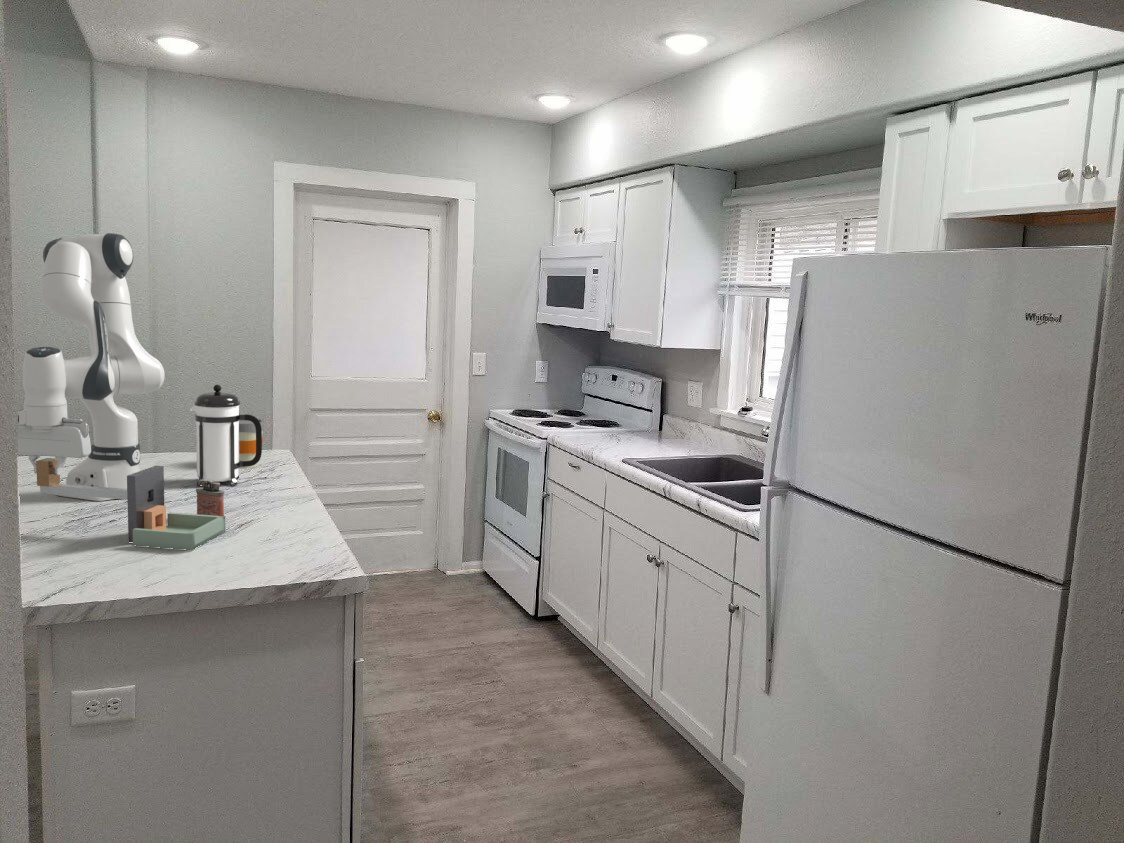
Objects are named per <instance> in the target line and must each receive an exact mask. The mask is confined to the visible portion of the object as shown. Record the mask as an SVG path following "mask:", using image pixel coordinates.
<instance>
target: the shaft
mask: <svg viewBox="0 0 1124 843" xmlns="http://www.w3.org/2000/svg"><path fill="white" fill-rule="evenodd" d="M57 462H58V461H55V457H46V458H43V459H42V458H41V459H39V460H38V461H36V470H37V473H36V486H38V487H39V492H40V494H47V495H48V494H50V495H57V494H60V495H74V496H87V497H101V498H114V499H113V500H115V499H116V500H118V499H119V500H127V489H120V488H107V487H93V486H79V485H66V483H65V484H64V483H62V484H61V474H60V475H53V474H52V467H55V466H56V464H57ZM147 499H149V491H147Z"/></svg>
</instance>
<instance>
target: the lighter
mask: <svg viewBox="0 0 1124 843" xmlns="http://www.w3.org/2000/svg"><path fill="white" fill-rule="evenodd" d="M198 480H199V479H198ZM199 485H203V486H202V487H198V488H196V489H195V493H196V514H200V515H213V516H225V510H224V509H225V508H224V503H225V501H224V500H225V499H224V496H225V491H224V490H222V489H220V487H221V483H220V482H215V481H214V480H211V481H208V480H199Z"/></svg>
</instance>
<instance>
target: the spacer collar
mask: <svg viewBox="0 0 1124 843" xmlns="http://www.w3.org/2000/svg"><path fill="white" fill-rule="evenodd" d="M166 526H167V506H166V505H164V506H162V505H157V506H155V507H153V508H150V509H148V510H146V511H144V529H154V530H166Z"/></svg>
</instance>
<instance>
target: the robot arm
mask: <svg viewBox="0 0 1124 843" xmlns="http://www.w3.org/2000/svg"><path fill="white" fill-rule="evenodd" d="M42 258H43V259H42V260H43V263H44V265H43V268H42V274H41V280H40V299H41V301H42V303H43V305H44V306H45V307H46V309H48V310H49V311H50V312H51V313H53V314H54V315H56V316H58V317H60V318H62V319H64V320H68V321H70V322H73V323H76V324H78V325H80V326H82V327H84V328H86V329H87V332H88V340H89V341H88V342H89V348H90V349H89V351H90V355H87V356H86V355H85V356H79V357H74V358H70V359H65V358H64V356H63V352H62V350H61V349H60V348H57V347H52V346H38V347H32V348H30V349H28V350H26V351H25V352H24V357H23V365H22V388H23V390H24V394H25V396H24V401H23V409H20V410H18V454H17V455H28V460H29V462H30V463H31V464H32V466H33V472H34V474H37V470H36V461H38V460H40V458H41V456H42V457H43V456H44V457H45V456H46V457H54V458H55V461H58V462H57V464H56V466H55V467H52V474H53V475H60V476H61V475H63V467H64V465H65V463H66V461H67V460H68V458H71V459H83V458H86V457H87V458H86V459H84V460H82V461H81V462H80V463H79V464H77V465H76V466H75V467H72V469H70V471H69V472H68V473H67V476H66V480H65V485H79V486H93V487H107V488H120V489H127V475H130V474H133V473H136V472H139V471H141V466H140V462H141V444H140V443H139V426H138V425H139V424H138V423H139V422H138V420H139V419H138V418H137V416H136V414H135V413H134V412H132V411H131V410H129V409H127V408H125V407H124V406H123V407H122V406H120V405H117V404H116V403H115V400H114V397H115V396H129V395H131V396H132V395H133V396H134V395H135V396H136V395H144V394H149V393H153V392H158V390H160V389H161V387H163V384H164V382H165V376H166V374H165V373H166V372H165V369H164V366H163V364H162V363H161V362H160V360H158V359H157V358H156V357H154V356H153V355H151V354H150V353H149V352H147V350H146V349H145V348H144V347H143V346H142V344H141V343H140V341H139V339H138V337H137V336H136V335H137V334H136V333H135V332H136V331H135V327H134V321H133V314H132V313H133V312H132V304H131V295H130V290H129V286H128V282H127V279H126V276H127V273H128V272H129V270H130V269H131V267H132V265H133V263H134V262H133V261H134V252H133V247H132V245H131V243H130V241H129V240H128V239H127V238H126V237H125V236H124V235H122V234H119V233H114V232H113V233H112V232H111V233H110V232H109V233H108V232H107V233H105V234H104V233H90V234H89V233H88V234H87V233H86V234H82V235H76V236H69V237H65V238H63V237H60V238H55V239H53V240H51V241H49V242H47V244H46V245H45V247H44V248H43V251H42ZM110 349H111V350H112V352H113V355H111V354H110V353H111V352H110ZM68 399H71V400H72V399H73V400H74V399H76V400H80V402H81V403H82V404H83V405H84V406H85V407H86V409H87V410H88V413H89V416H90V418H91V424H92V432H93V444H92V443H91V439H90V433H89V431H90V430H89V424H88V423H87V422H86V421H85V420H83V419H82V418H72V417H69V416H68V402H67V400H68ZM56 496H60V497H65V498H73V499H79V500H80V499H81V500H88V501H95V502H102V501H103V502H104V501H108V500H115V499H114V498H101V497H87V496H74V495H60V494H56Z"/></svg>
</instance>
